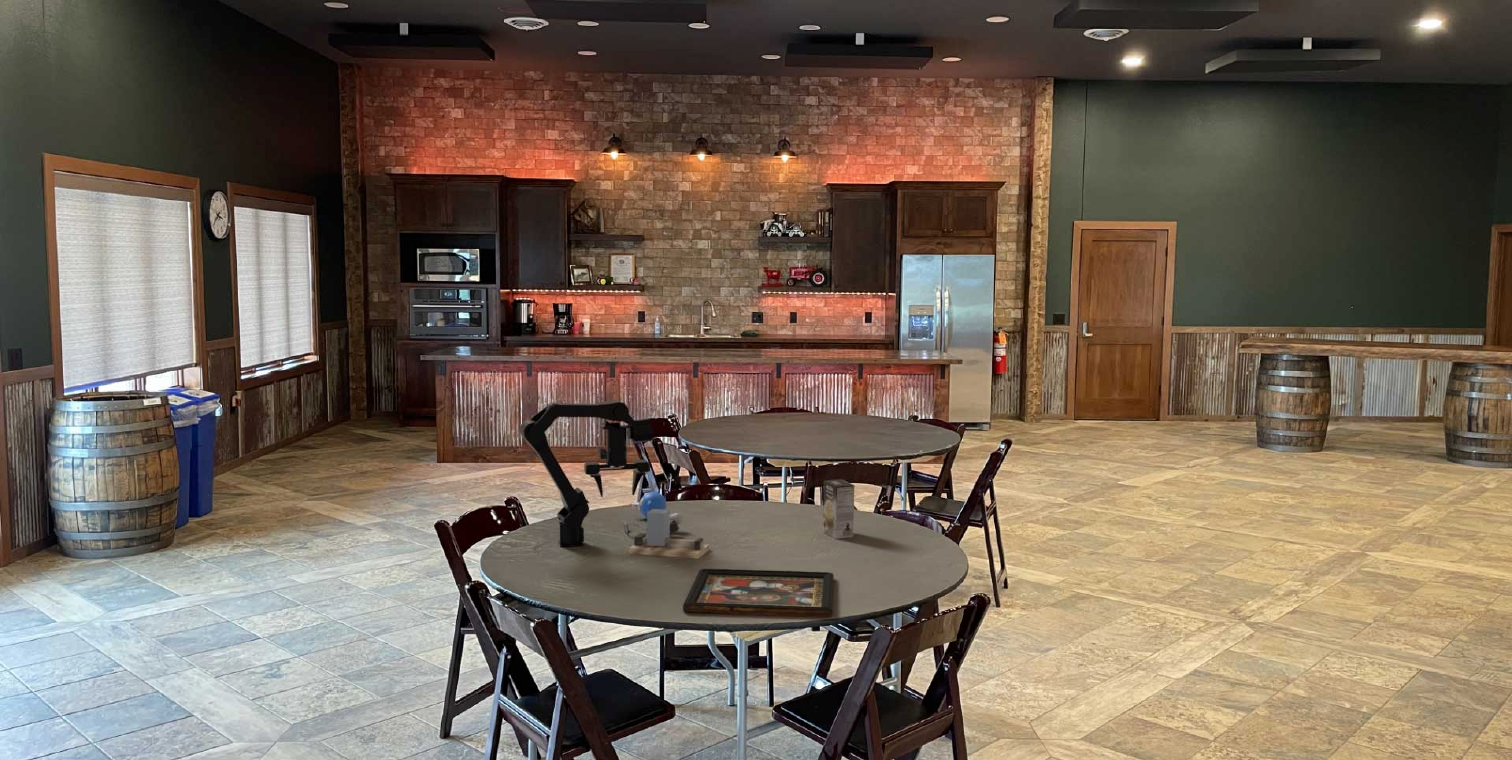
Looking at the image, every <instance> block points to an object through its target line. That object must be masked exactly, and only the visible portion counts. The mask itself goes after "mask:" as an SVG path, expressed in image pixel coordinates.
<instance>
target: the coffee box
mask: <svg viewBox="0 0 1512 760" xmlns="http://www.w3.org/2000/svg"><path fill="white" fill-rule="evenodd" d="M854 508H855V484H852V483H851V482H849V481H846V480H845V479H843V478H840V479H829V480H823V508H822V509H823V513H822V515H823V517H822V519H823V521H822V522H823V523H822V524H823V527H822V528H823V529H822V532H823V533H825V534H826V535H828V536H830V537H831V538H833V539H835V540H839V539H848V538H854V524H855V523H854V521H855V520H854V517H855V514H854V513H855V509H854Z"/></svg>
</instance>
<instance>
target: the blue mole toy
mask: <svg viewBox="0 0 1512 760" xmlns="http://www.w3.org/2000/svg"><path fill="white" fill-rule="evenodd" d="M628 506H629V507H632V508H634V509H635V510H637V511H638V513H640V514H642V515H643V516H644V517H645V518H647V512H649V511H651V510H652V509H661V510H667V501H666V498H665V496H664V495H663V494H661V493H660V492H656V491H651V492H647V493H645V494H644V495H642V497H641V499H640V501H638V502H634V503H629V504H628Z"/></svg>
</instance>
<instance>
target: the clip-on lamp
mask: <svg viewBox="0 0 1512 760" xmlns="http://www.w3.org/2000/svg"><path fill="white" fill-rule="evenodd" d="M682 521H683V517H682V514H680V513H679V512H676V513H670V534H671V533H674V532H677V531H679V530H680V526H679V525H680V524H681V523H682ZM628 524H629V525H633V526H635V527H637V528H638V529H640V530H647V526H646V527H641V526H639V525H638V524H636V523H633V522H631V521H629V522H624V523H623V528H624V532H625V534H629V531H630V530H629V525H628Z"/></svg>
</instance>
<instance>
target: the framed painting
mask: <svg viewBox="0 0 1512 760" xmlns="http://www.w3.org/2000/svg"><path fill="white" fill-rule="evenodd" d="M834 583H835V582H834V573H832V572H827V571H826V572H825V571H801V570H798V571H797V570H770V569H769V570H762V569H757V570H756V569H729V568H700V569H699V571H698V572H697V575H696V577H695V579H694V581H693V583H692V585H691V587H690V590H689V592H688V594H687V595H686V598H685V600H684V601H683V604H682V611H683V612H685V613H701V612H711V613H710V614H726V613H736V614H735V615H748V614H759V616H780V617H781V616H786V617H789V616H790V617H806V616H819V617H818V618H831V617H832V616H833V608H834ZM713 612H714V613H713Z"/></svg>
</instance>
